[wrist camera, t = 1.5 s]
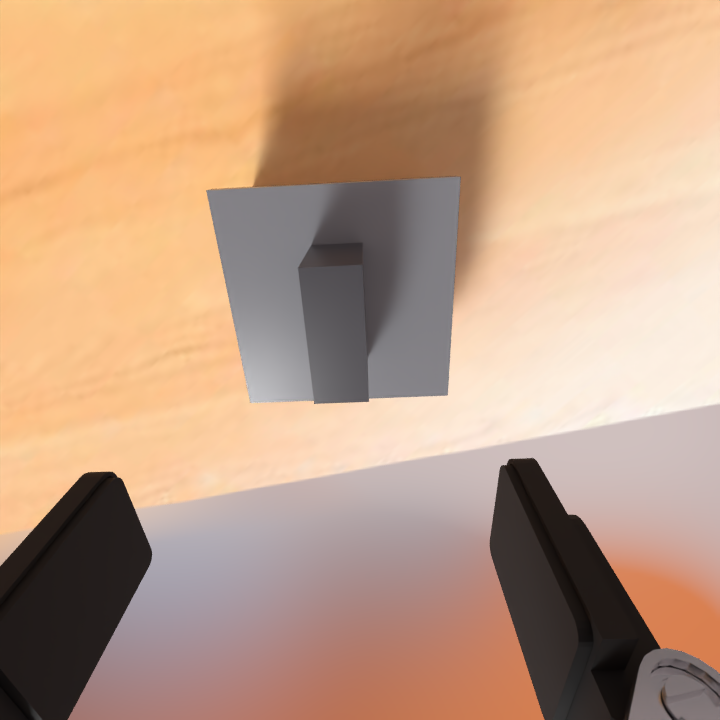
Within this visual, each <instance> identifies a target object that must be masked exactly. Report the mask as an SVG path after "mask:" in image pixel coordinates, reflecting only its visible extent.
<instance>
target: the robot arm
mask: <svg viewBox="0 0 720 720" xmlns="http://www.w3.org/2000/svg"><path fill="white" fill-rule="evenodd" d="M490 551H491V556H492V559H493V562H494V565H495V569H496V572H497V575H498V578H499V581H500V584H501V587H502V590H503V593H504V596H505V600H506V603H507V606H508V609H509V612H510V615H511V618H512V621H513V624H514V627H515V631H516V634H517V637H518V640H519V643H520V646H521V649H522V652H523V655H524V658H525V661H526V665H527V668H528V671H529V674H530V677H531V680H532V683H533V686H534V689H535V692H536V696H537V699H538V701H539V705H540V708H541V711H542V714H543V717H544V719H545V720H720V674H719V673H718V672H717V671H716V670H715V669H713V668H712V667H710V666H708V665H707V664H706V663H704V662H703V661H701V660H700V659H698V658H696V657H693V656H691V655H689V654H687V653H685V652H682V651H678V650H673V649H668V648H665V649H661V648H660V646H659V645H658V643H657V642H656V640H655V639H654V637H653V635H652V633H651V632H650V630H649V628H648V627H647V625H646V624H645V622H644V620H643V619H642V617H641V615H640V614H639V612H638V610H637V609H636V607H635V605H634V604H633V602H632V601H631V599H630V597H629V596H628V594H627V592H626V591H625V589H624V587H623V586H622V584H621V582H620V581H619V579H618V578H617V576H616V574H615V573H614V571H613V569H612V568H611V566H610V564H609V563H608V561H607V560H606V558H605V556H604V555H603V553H602V551H601V550H600V548H599V547H598V545H597V543H596V542H595V540H594V538H593V536H592V535H591V533H590V532H589V530H588V528H587V527H586V525H585V524H584V522H583V521H582V520H581V518H579V517H578V516H576V515H568V514H567V513H566V511H565V509H564V507H563V505H562V504H561V502H560V500H559V499H558V497H557V495H556V493H555V492H554V490H553V488H552V486H551V485H550V483H549V481H548V479H547V478H546V476H545V474H544V472H543V471H542V469H541V467H540V466H539V464H538V462H537V461H536V460H535V459H534V458H527V459H509V461H508V463H507V465H505V466H504V465H503V466H501V467H500V473H499V479H498V487H497V494H496V502H495V508H494V515H493V523H492V529H491V536H490ZM151 559H152V551H151V548H150V545H149V543H148V540H147V538H146V535H145V533H144V531H143V528H142V526H141V523H140V521H139V519H138V516H137V514H136V511H135V509H134V507H133V504H132V502H131V499H130V497H129V494H128V492H127V490H126V487H125V485H124V482H123V481H122V479H121V478H118V477H117V476H116V474H115V473H113V472H88V473H85V474H84V475H82V476H81V477H80V478H79V479H78V481H77V482H76V483H75V484H74V485H73V486H72V487H71V488H70V489H69V491H68V492H67V493H66V494H65V495H64V496H63V497H62V498H61V499H60V501H59V502H58V503H57V504H56V505H55V506H54V507H53V508H52V509H51V511H50V512H49V513H48V514H47V515H46V516H45V517H44V518H43V519H42V521H41V522H40V523H39V524H38V525H37V526H36V527H35V528H34V529H33V531H32V532H31V533H30V534H29V535H28V536H27V537H26V538H25V540H24V541H23V542H22V543H21V544H20V545H19V546H18V548H16V550H15V551H14V552H13V553H12V554H11V555H10V556H9V557H8V559H7V560H6V561H5V562H4V563H3V564H2V565H1V566H0V720H67V719H68V718H69V716H70V714H71V712H72V710H73V708H74V707H75V705H76V703H77V701H78V699H79V697H80V695H81V693H82V692H83V690H84V688H85V686H86V684H87V682H88V680H89V678H90V676H91V674H92V673H93V671H94V669H95V667H96V665H97V663H98V661H99V660H100V658H101V656H102V654H103V652H104V650H105V648H106V646H107V644H108V643H109V641H110V639H111V637H112V635H113V633H114V631H115V629H116V628H117V626H118V624H119V622H120V620H121V618H122V616H123V614H124V612H125V611H126V609H127V607H128V605H129V603H130V601H131V599H132V597H133V595H134V594H135V592H136V590H137V588H138V586H139V584H140V582H141V580H142V579H143V577H144V575H145V573H146V571H147V569H148V567H149V565H150V563H151Z"/></svg>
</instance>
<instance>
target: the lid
mask: <svg viewBox="0 0 720 720" xmlns="http://www.w3.org/2000/svg"><path fill="white" fill-rule="evenodd" d="M460 180H461V177H459V176H446V177H428V178H409V179H391V180H372V181H353V182H335V183H316V184H297V185H279V186H260V187H242V188H223V189H211V190H206V191H207V196H208V201H209V205H210V210H211V215H212V220H213V225H214V230H215V234H216V239H217V244H218V249H219V254H220V258H221V263H222V268H223V273H224V278H225V283H226V287H227V292H228V297H229V302H230V307H231V311H232V316H233V321H234V326H235V331H236V336H237V340H238V345H239V350H240V355H241V360H242V365H243V369H244V374H245V379H246V384H247V389H248V393H249V398H250V403H263V402H289V401H314V404H320V403H346V402H369V398H393V397H419V396H445V395H448V381H449V364H450V347H451V330H452V314H453V297H454V280H455V263H456V247H457V230H458V213H459V197H460Z"/></svg>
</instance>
